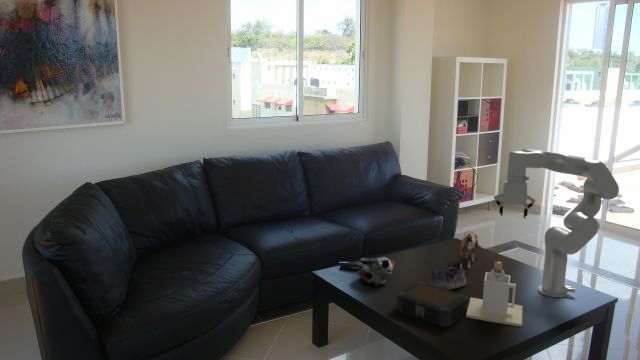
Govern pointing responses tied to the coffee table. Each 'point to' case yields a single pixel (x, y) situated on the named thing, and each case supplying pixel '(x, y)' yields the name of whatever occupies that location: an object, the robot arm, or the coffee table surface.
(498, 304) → the square white mug
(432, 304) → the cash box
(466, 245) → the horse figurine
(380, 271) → the lucky cat figurine
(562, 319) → the coffee table surface
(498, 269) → the plunger
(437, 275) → the geode
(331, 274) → the coffee table surface
